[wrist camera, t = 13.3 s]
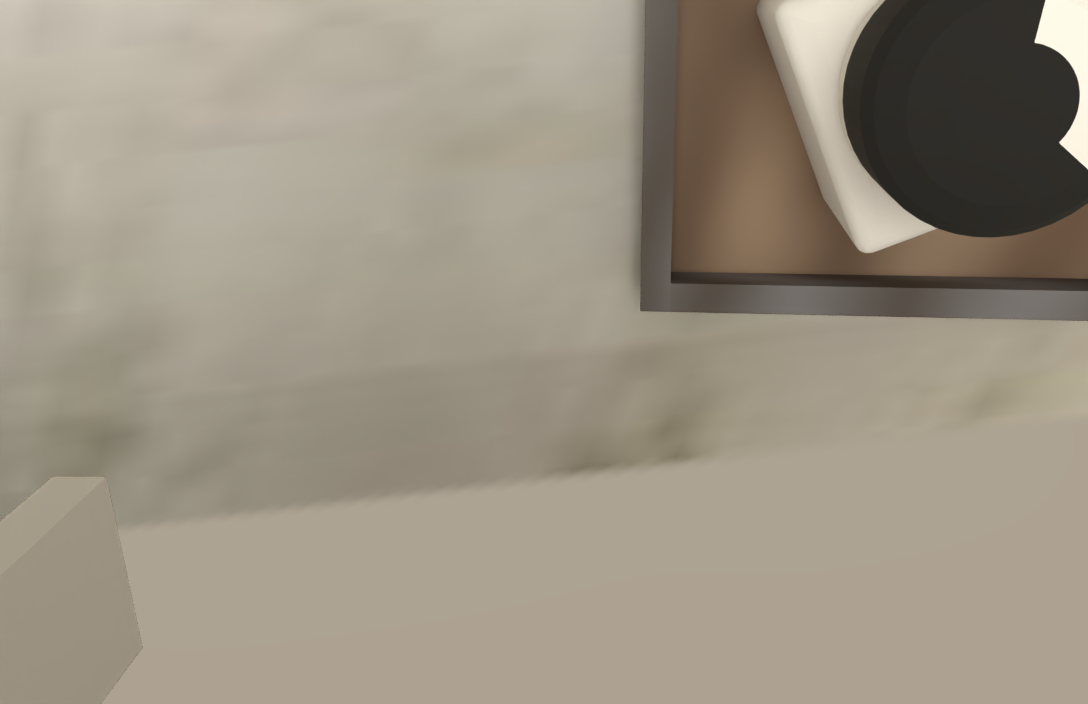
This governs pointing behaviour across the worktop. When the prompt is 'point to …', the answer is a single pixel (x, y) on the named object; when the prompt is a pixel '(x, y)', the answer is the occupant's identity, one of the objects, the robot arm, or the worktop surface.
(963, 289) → the wooden tray
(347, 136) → the worktop surface
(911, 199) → the medicine bottle
